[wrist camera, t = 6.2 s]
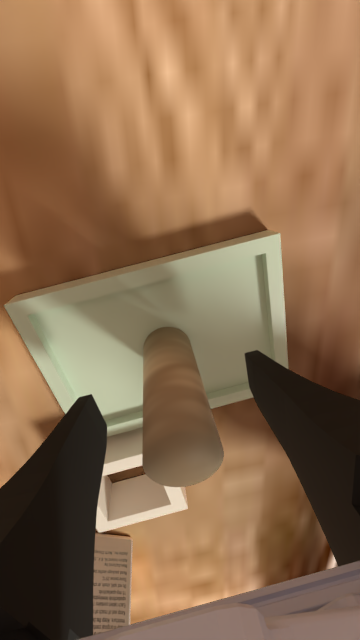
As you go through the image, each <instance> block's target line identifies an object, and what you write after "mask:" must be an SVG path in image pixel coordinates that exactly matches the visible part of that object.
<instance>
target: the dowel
mask: <svg viewBox="0 0 360 640" xmlns="http://www.w3.org/2000/svg"><path fill="white" fill-rule="evenodd" d="M223 457H224V451H223V447H222V444H221V441H220V437H219V434H218V431H217V428H216V424H215V421H214V418H213V415H212V411H211V408H210V405H209V402H208V398H207V395H206V392H205V389H204V385H203V382H202V379H201V376H200V372H199V369H198V366H197V363H196V359H195V356H194V353H193V350H192V346H191V343H190V340H189V338H188V336H187V335H186V334H185V333H184V332H183V331H182V330H180V329H178V328H174V327H162V328H159V329H156V330H154V331H153V332H152V333H150V334H149V335H148V337H147V338H146V340H145V342H144V347H143V446H142V465H143V470H144V472H145V473H146V475H147V476H148V477H149V478H150V479H151V480H152V481H154V482H156V483H158V484H160V485H164V486H168V487H186V486H191V485H194V484H197V483H200V482H202V481H204V480H206V479H208V478H209V477H210V476H212V475H213V474H214V473H215V472H216V471H217V470H218V469H219V467H220V466H221V464H222V461H223Z"/></svg>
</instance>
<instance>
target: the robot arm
mask: <svg viewBox="0 0 360 640" xmlns="http://www.w3.org/2000/svg"><path fill="white" fill-rule="evenodd" d="M244 354H245V361H246V368H247V375H248V382H249V388H250V390H251V392H252V395H253V397H254V399H255V401H256V403H257V406H258V407H259V409H260V411H261V412H262V414H263V416H264V417H265V419H266V421H267V422H268V424H269V426H270V427H271V429H272V431H273V432H274V434H275V435H276V437H277V439H278V440H279V442H280V444H281V445H282V447H283V449H284V450H285V452H286V454H287V456H288V458H289V459H290V461H291V464H292V466H293V468H294V470H295V472H296V474H297V476H298V478H299V480H300V482H301V484H302V486H303V488H304V491H305V493H306V495H307V497H308V499H309V501H310V503H311V505H312V508H313V510H314V512H315V514H316V516H317V519H318V521H319V523H320V525H321V527H322V530H323V532H324V534H325V536H326V539H327V541H328V543H329V545H330V548H331V550H332V552H333V555H334V557H335V559H336V562H337V564H338V566H339V567H335V568H332V569H328V570H324V571H321V572H317V573H314V574H310V575H307V576H303V577H299V578H296V579H292V580H289V581H285V582H281V583H278V584H274V585H271V586H267V587H264V588H260V589H256V590H253V591H249V592H246V593H242V594H238V595H235V596H231V597H228V598H224V599H221V600H217V601H213V602H210V603H206V604H203V605H199V606H196V607H192V608H188V609H185V610H181V611H178V612H174V613H170V614H167V615H163V616H160V617H156V618H153V619H149V620H145V621H142V622H138V623H135V624H131V625H127V626H124V627H120V628H117V629H113V630H110V631H106V632H102V633H99V634H95V635H93V582H94V551H95V531H96V516H97V505H98V498H99V492H100V485H101V479H102V473H103V467H104V461H105V455H106V448H107V424H106V422H105V420H104V418H103V416H102V414H101V412H100V410H99V408H98V406H97V404H96V402H95V400H94V398H93V395H92V394H90V395H86V396H82V397H79V398H78V399H77V400H76V401H75V403H74V404H73V405H72V406H71V408H70V409H69V410H68V412H67V413H66V414H65V416H64V417H63V418H62V420H61V421H60V422H59V423H58V425H57V426H56V427H55V429H54V430H53V431H52V433H51V434H50V435H49V436H48V437H47V439H46V440H45V441H44V442H43V443H42V445H41V446H40V447H39V448H38V449H37V451H36V452H35V453H34V454H33V455H32V456H31V458H30V459H29V460H28V461H27V462H26V463H25V464H24V465H23V466H22V467H21V468H20V469H19V470H18V471H17V473H16V474H15V475H14V476H13V477H12V478H11V479H10V480H9V481H8V482H7V483H5V484H4V485H3V486H2V487H1V488H0V640H360V400H357V399H354V398H351V397H348V396H345V395H342V394H340V393H337V392H334V391H332V390H330V389H327V388H325V387H322V386H320V385H318V384H316V383H314V382H312V381H310V380H308V379H306V378H304V377H302V376H300V375H298V374H296V373H294V372H292V371H291V370H289V369H287V368H285V367H284V366H282V365H280V364H279V363H277V362H276V361H274V360H272V359H271V358H269V357H268V356H266V355H265V354H263V353H261V352H260V351H258V350H255V351H251V352H247V353H244Z"/></svg>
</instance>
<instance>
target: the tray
mask: <svg viewBox="0 0 360 640" xmlns="http://www.w3.org/2000/svg"><path fill="white" fill-rule="evenodd" d="M4 307H5V309H6V311H7V312H8V314H9V316H10V318H11V319H12V321H13V323H14V325H15V326H16V328H17V330H18V332H19V334H20V335H21V337H22V339H23V341H24V342H25V344H26V346H27V348H28V349H29V351H30V353H31V355H32V356H33V358H34V360H35V362H36V363H37V365H38V367H39V369H40V371H41V372H42V374H43V376H44V378H45V379H46V381H47V383H48V385H49V386H50V388H51V390H52V392H53V393H54V395H55V397H56V399H57V401H58V402H59V404H60V406H61V408H62V409H63V411H64V413H65V414H66V413H67V412H68V410H69V409H70V408H71V406H72V405H73V404H74V403H75V401H76V400H77V399H78V398H79V397H82V396H86V395H90V394H92V395H93V398H94V400H95V402H96V404H97V406H98V408H99V410H100V412H101V414H102V416H103V418H104V420H105V422H106V424H107V437H108V436H112V435H116V434H119V433H123V432H127V431H131V430H134V429H138V428H142V427H143V347H144V342H145V340H146V338H147V337H148V335H149V334H150V333H152V332H153V331H154V330H156V329H159V328H162V327H174V328H178V329H180V330H182V331H183V332H184V333H185V334H186V335H187V336H188V338H189V340H190V343H191V346H192V350H193V353H194V356H195V359H196V363H197V366H198V369H199V372H200V376H201V379H202V382H203V385H204V389H205V392H206V395H207V398H208V402H209V405H210V408H211V409H212V408H216V407H220V406H223V405H227V404H231V403H235V402H238V401H242V400H246V399H250V398H253V395H252V392H251V390H250V388H249V382H248V375H247V368H246V361H245V354H244V353H247V352H251V351H255V350H258V351H260V352H261V353H263V354H265V355H266V356H268V357H269V358H271V359H272V360H274V361H276V362H277V363H279V364H280V365H282V366H284V367H285V368H287V369H289V368H288V352H287V336H286V320H285V303H284V287H283V271H282V255H281V239H280V233H278V232H274V231H271V230H266V231H262V232H258V233H254V234H250V235H246V236H243V237H239V238H235V239H231V240H227V241H223V242H220V243H216V244H212V245H208V246H204V247H200V248H196V249H193V250H189V251H185V252H181V253H177V254H173V255H170V256H166V257H162V258H158V259H154V260H150V261H147V262H143V263H139V264H135V265H131V266H127V267H124V268H120V269H116V270H112V271H108V272H104V273H100V274H97V275H93V276H89V277H85V278H81V279H77V280H74V281H70V282H66V283H62V284H58V285H54V286H51V287H47V288H43V289H39V290H35V291H31V292H27V293H24V294H20V295H16V296H14V297H13V298H12V299H11V300H9V301H8V302H7V303H6V304H4Z"/></svg>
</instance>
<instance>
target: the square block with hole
mask: <svg viewBox="0 0 360 640" xmlns="http://www.w3.org/2000/svg"><path fill="white" fill-rule="evenodd" d="M142 446H143V427H142V428H138V429H134V430H131V431H127V432H123V433H119V434H116V435H112V436H108V437H107V448H106V455H105V461H104V467H103V473H102V479H101V485H100V492H99V498H98V505H97V516H96V529H97V530H98V532H99V533H101V532H105V531H108V530H112V529H115V528H119V527H123V526H126V525H130V524H134V523H137V522H141V521H145V520H148V519H152V518H156V517H159V516H163V515H167V514H170V513H174V512H178V511H181V510H185V509H188V505H187V498H186V491H185V487H168V486H164V485H160V484H158V483H156V482H154V481H152V480H151V479H150V478H149V477H148V476H147V475H146V474H145V475H141V476H137V477H133V478H130V479H126V480H122V481H119V482H115V483H112V482H111V480H110V479H109V477H108V475H109V474H113V473H116V472H120V471H124V470H127V469H131V468H135V467H139V466H142Z"/></svg>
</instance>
